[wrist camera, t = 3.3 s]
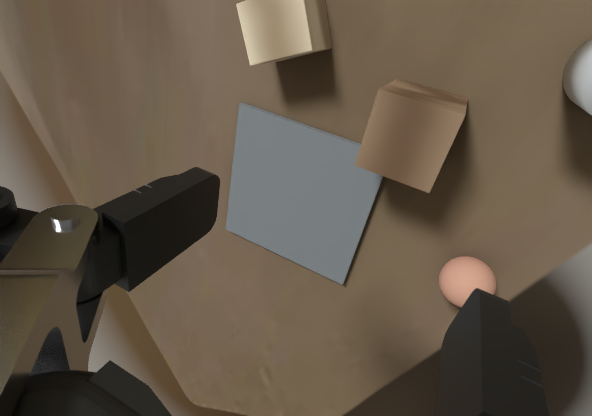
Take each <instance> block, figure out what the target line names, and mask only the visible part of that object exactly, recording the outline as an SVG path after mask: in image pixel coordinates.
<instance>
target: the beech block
mask: <svg viewBox="0 0 592 416" xmlns="http://www.w3.org/2000/svg"><path fill="white" fill-rule="evenodd" d="M236 5H237V9H238V14H239V18H240V23H241V27H242V31H243V36H244V40H245V44H246V49H247V53H248V58H249V62H250V65H257V64H265V63H272V62H278V61H282V60H286V59H290V58H294V57H299V56H303V55H307V54H311V53H315V52H319V51H324V50H328V49H332V44H331V37H330V31H329V24H328V17H327V10H326V4H325V0H246V1H243V2H241V3H238V4H236Z"/></svg>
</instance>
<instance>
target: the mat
mask: <svg viewBox="0 0 592 416" xmlns="http://www.w3.org/2000/svg"><path fill="white" fill-rule="evenodd" d="M360 146H361V144H360V143H357V142H354V141H351V140H348V139H345V138H343V137H340V136H337V135H334V134H331V133H328V132H325V131H323V130H320V129H317V128H314V127H311V126H308V125H305V124H303V123H300V122H297V121H294V120H291V119H288V118H285V117H283V116H280V115H277V114H274V113H271V112H268V111H266V110H263V109H260V108H257V107H254V106H251V105H248V104H246V103H240V104H239V112H238V121H237V130H236V139H235V148H234V157H233V166H232V175H231V185H230V194H229V203H228V212H227V221H226V230H228V231H230V232H232V233H235V234H237V235H239V236H241V237H243V238H245V239H247V240H249V241H251V242H253V243H256V244H258V245H260V246H262V247H264V248H266V249H268V250H270V251H272V252H274V253H277V254H279V255H281V256H283V257H285V258H287V259H289V260H291V261H293V262H295V263H297V264H300V265H302V266H304V267H306V268H308V269H310V270H312V271H314V272H316V273H318V274H321V275H323V276H325V277H327V278H329V279H331V280H333V281H335V282H337V283H339V284H342V285H343V283H344V281H345V279H346V276H347V273H348V271H349V268H350V265H351V263H352V260H353V257H354V255H355V252H356V249H357V246H358V244H359V241H360V238H361V236H362V233H363V230H364V228H365V225H366V222H367V220H368V217H369V214H370V211H371V209H372V206H373V203H374V201H375V198H376V195H377V193H378V190H379V187H380V185H381V182H382V179H383V176H381V175H379V174H376V173H373V172H371V171H368V170H365V169H363V168H360V167H357V166H354V165H355V162H356V159H357V156H358V152H359V149H360Z"/></svg>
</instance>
